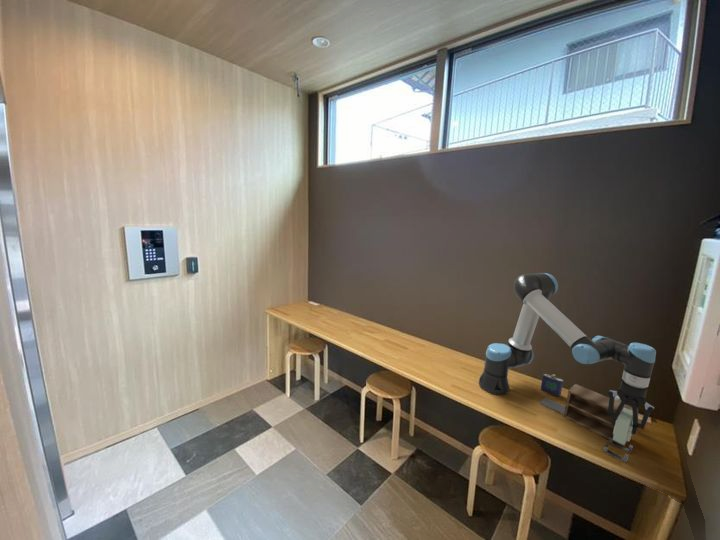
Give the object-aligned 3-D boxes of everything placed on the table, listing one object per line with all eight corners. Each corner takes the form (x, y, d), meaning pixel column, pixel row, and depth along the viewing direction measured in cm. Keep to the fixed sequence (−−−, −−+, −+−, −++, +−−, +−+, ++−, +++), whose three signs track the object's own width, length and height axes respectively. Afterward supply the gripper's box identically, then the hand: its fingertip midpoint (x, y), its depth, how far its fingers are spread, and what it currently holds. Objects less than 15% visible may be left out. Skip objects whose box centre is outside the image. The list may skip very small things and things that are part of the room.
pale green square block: (612, 439, 116) (617, 417, 114) (618, 429, 122) (624, 407, 120) (627, 446, 113) (633, 423, 111) (633, 435, 119) (638, 413, 117)
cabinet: (563, 416, 139) (568, 390, 136) (569, 409, 144) (575, 383, 141) (624, 446, 122) (631, 416, 119) (629, 437, 127) (636, 408, 124)
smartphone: (544, 397, 153) (579, 411, 142) (544, 398, 153) (579, 413, 142) (539, 402, 148) (575, 418, 137) (539, 404, 148) (574, 420, 137)
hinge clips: (603, 451, 119) (604, 446, 118) (610, 440, 125) (611, 435, 124) (626, 463, 113) (627, 457, 113) (631, 451, 119) (633, 446, 119)
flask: (560, 395, 156) (564, 376, 154) (560, 397, 154) (563, 379, 151) (540, 388, 162) (543, 370, 159) (539, 390, 159) (543, 372, 157)
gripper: (604, 376, 117) (593, 428, 122) (663, 397, 105) (648, 454, 109) (609, 370, 122) (598, 420, 126) (666, 390, 109) (651, 445, 114)
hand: (621, 436), depth 118 cm, fingers closed on pale green square block, 3 cm apart
